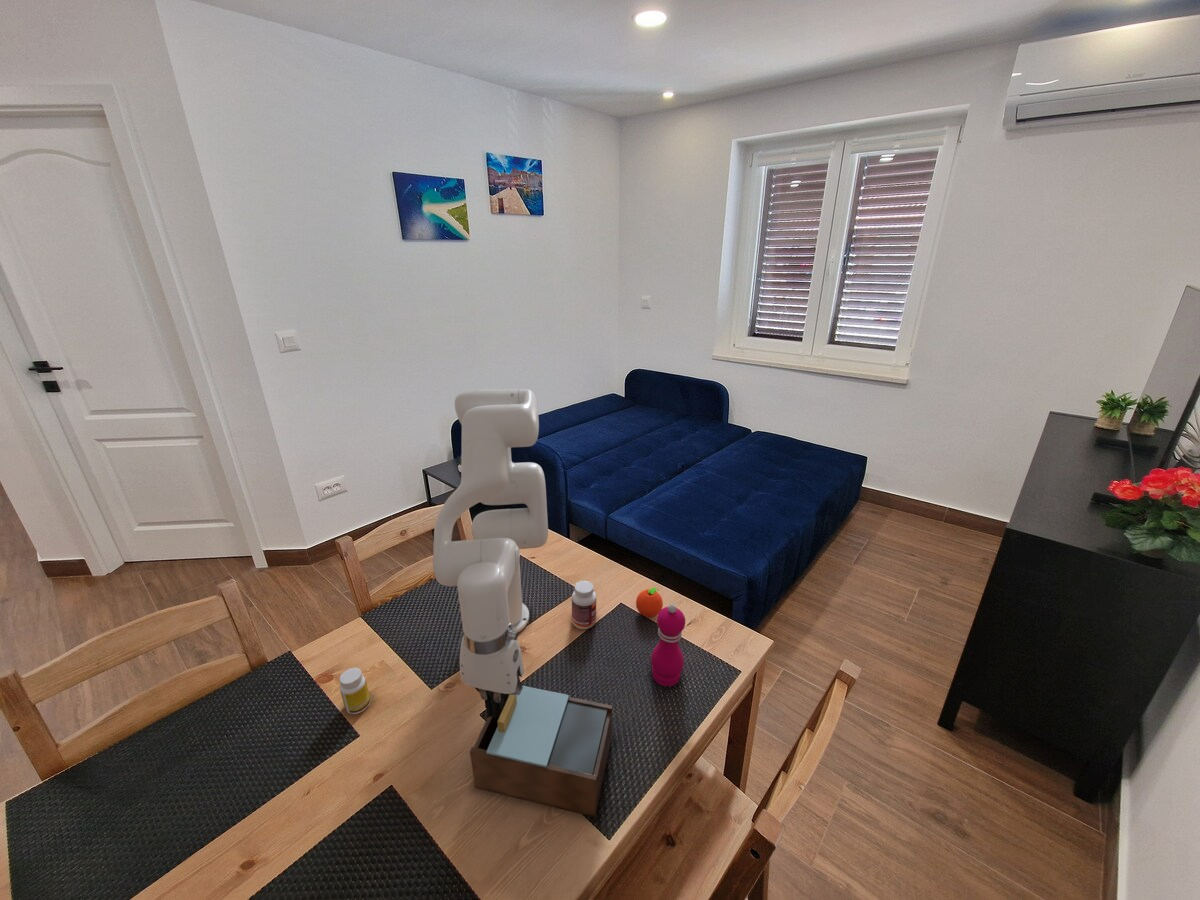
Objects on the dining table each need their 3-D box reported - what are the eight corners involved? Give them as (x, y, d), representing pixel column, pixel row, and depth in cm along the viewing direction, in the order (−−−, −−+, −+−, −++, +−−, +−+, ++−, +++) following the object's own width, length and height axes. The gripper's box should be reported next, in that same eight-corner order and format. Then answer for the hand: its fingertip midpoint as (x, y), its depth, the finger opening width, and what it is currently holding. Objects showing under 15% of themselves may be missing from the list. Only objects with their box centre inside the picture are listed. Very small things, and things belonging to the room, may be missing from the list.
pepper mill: (681, 691, 105) (689, 620, 97) (648, 685, 106) (653, 614, 98) (682, 665, 111) (690, 596, 103) (651, 659, 113) (656, 591, 105)
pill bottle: (596, 630, 121) (597, 595, 117) (571, 630, 121) (571, 595, 116) (595, 612, 127) (596, 578, 122) (572, 612, 126) (571, 578, 122)
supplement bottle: (375, 700, 102) (368, 671, 99) (357, 718, 98) (348, 688, 95) (359, 691, 104) (351, 662, 100) (340, 709, 100) (331, 680, 96)
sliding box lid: (486, 753, 82) (484, 741, 80) (516, 686, 94) (515, 674, 93) (546, 767, 80) (545, 755, 78) (569, 696, 92) (568, 685, 91)
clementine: (646, 598, 132) (647, 577, 129) (668, 609, 128) (670, 587, 125) (630, 615, 126) (631, 593, 123) (653, 627, 122) (655, 605, 119)
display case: (474, 787, 86) (469, 750, 82) (505, 718, 99) (502, 683, 95) (595, 817, 82) (595, 780, 78) (611, 741, 94) (612, 705, 90)
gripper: (537, 624, 82) (541, 701, 89) (456, 609, 85) (467, 685, 92) (521, 658, 75) (527, 738, 82) (434, 641, 78) (447, 720, 85)
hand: (495, 710), depth 87 cm, fingers closed
